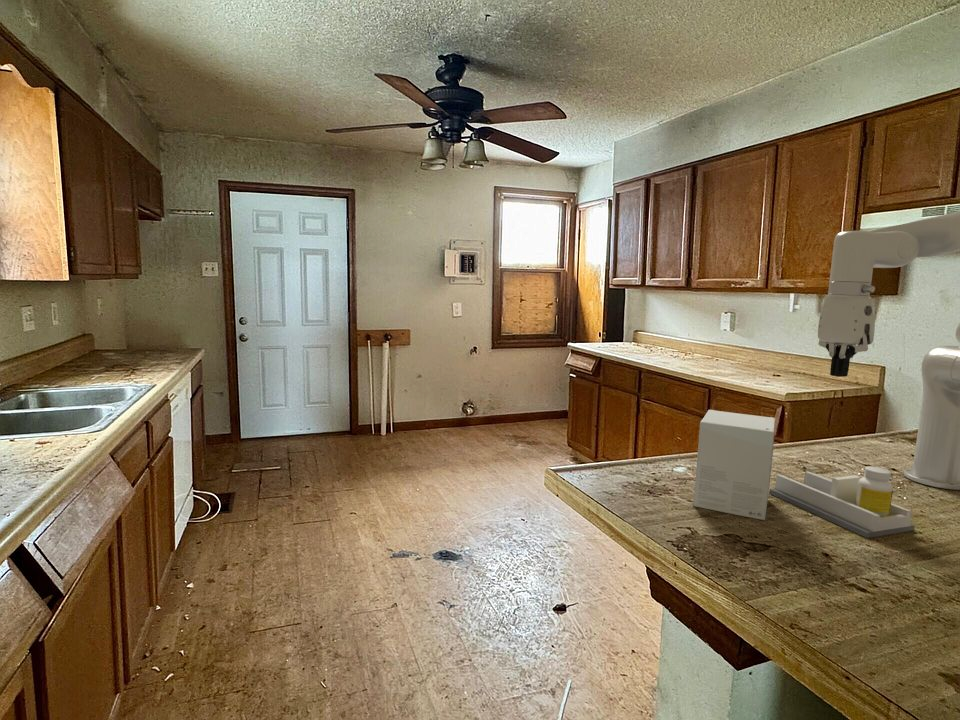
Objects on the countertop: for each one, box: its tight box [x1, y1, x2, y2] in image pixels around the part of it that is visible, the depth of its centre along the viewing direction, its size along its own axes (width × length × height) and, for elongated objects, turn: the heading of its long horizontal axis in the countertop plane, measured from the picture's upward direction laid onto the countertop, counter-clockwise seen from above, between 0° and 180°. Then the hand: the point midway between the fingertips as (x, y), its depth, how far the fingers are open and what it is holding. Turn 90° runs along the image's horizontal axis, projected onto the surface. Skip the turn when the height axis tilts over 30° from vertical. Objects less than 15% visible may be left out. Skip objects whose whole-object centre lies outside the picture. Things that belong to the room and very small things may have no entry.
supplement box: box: [692, 409, 776, 521], centre depth 116 cm, size 13×13×18 cm
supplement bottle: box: [855, 465, 894, 517], centre depth 108 cm, size 5×5×10 cm
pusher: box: [830, 474, 862, 505], centre depth 113 cm, size 6×1×6 cm, turn 109°
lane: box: [768, 470, 916, 539], centre depth 115 cm, size 12×22×4 cm, turn 19°
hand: (838, 375), depth 125 cm, fingers closed
